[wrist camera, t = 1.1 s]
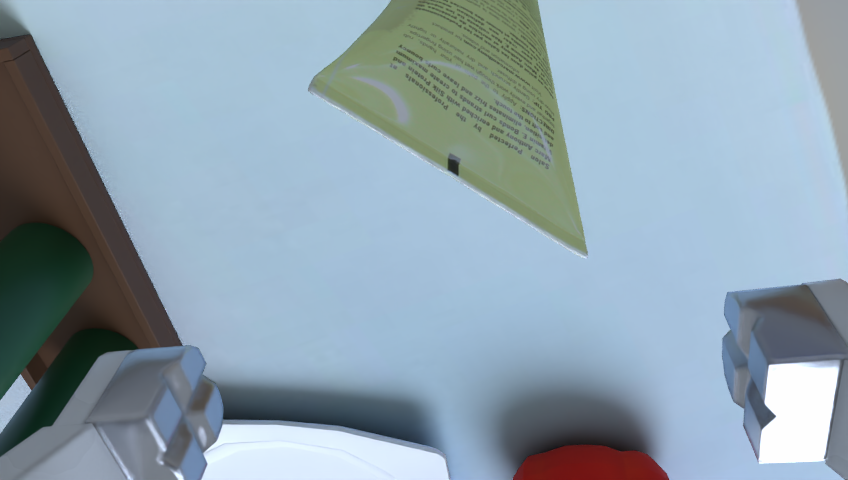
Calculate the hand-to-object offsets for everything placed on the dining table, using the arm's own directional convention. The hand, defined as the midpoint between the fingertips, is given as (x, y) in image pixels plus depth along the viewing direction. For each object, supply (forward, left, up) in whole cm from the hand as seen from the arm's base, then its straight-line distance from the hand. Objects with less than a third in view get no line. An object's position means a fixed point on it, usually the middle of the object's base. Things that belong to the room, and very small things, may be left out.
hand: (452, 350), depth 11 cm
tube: (0, 0, -25) cm, 25 cm away
